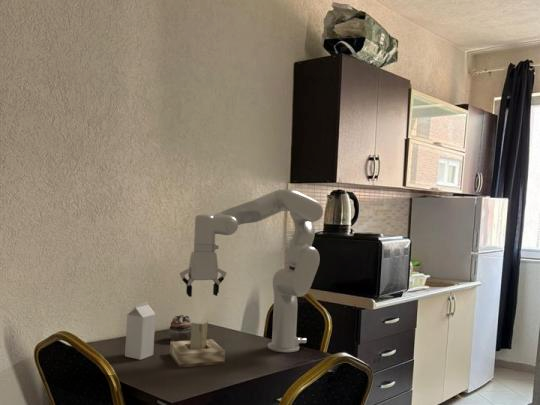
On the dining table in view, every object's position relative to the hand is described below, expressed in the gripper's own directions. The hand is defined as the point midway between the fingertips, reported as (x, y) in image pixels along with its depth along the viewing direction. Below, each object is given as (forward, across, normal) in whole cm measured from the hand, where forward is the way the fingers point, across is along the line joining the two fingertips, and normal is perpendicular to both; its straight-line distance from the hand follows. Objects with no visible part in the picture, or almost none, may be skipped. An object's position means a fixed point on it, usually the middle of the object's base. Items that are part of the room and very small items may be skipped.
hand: (202, 295), depth 176 cm
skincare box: (+22, +1, +1) cm, 22 cm away
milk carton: (+22, +20, -7) cm, 31 cm away
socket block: (+22, +2, +1) cm, 23 cm away
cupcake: (+23, +1, -25) cm, 34 cm away
